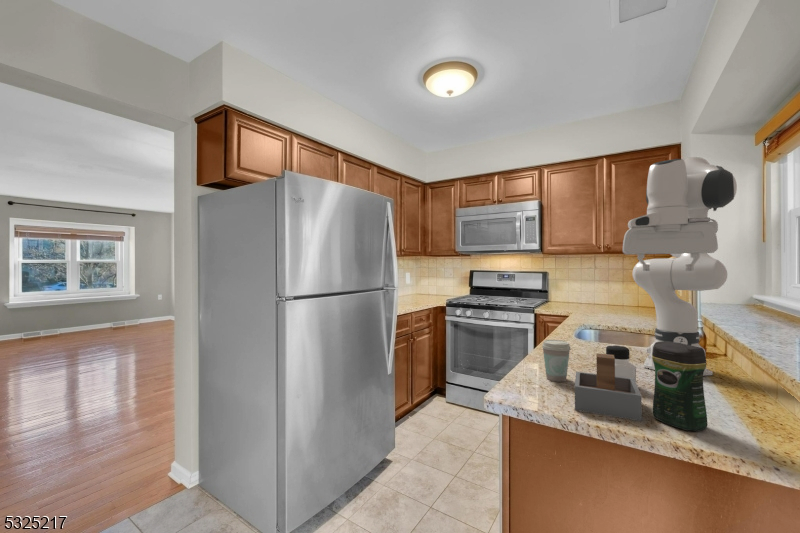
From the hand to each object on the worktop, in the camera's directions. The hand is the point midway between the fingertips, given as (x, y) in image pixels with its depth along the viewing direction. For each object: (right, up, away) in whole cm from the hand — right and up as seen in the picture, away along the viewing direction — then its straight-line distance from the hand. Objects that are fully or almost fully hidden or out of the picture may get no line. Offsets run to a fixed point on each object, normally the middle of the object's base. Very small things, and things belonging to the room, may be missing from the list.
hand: (667, 270), depth 93 cm
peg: (-18, -35, -3) cm, 40 cm away
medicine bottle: (-6, -35, +12) cm, 38 cm away
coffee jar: (-7, -35, -13) cm, 38 cm away
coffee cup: (-22, -36, +19) cm, 45 cm away
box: (-18, -35, -3) cm, 40 cm away
